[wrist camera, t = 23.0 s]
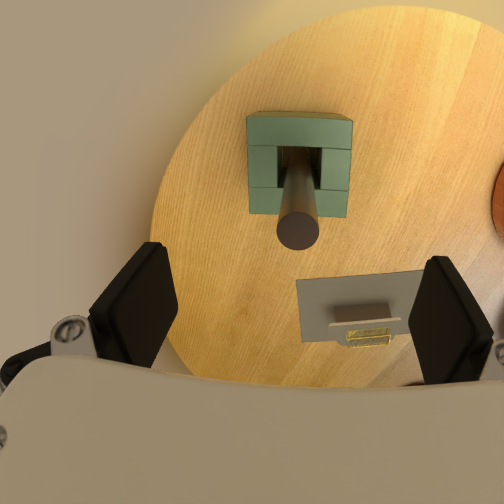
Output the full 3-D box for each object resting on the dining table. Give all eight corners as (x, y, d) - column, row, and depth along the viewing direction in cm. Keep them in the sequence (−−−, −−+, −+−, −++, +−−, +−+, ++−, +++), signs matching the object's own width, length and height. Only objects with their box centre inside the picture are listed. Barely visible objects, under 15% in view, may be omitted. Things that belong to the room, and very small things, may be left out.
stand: (258, 111, 31) (246, 116, 24) (340, 114, 30) (353, 120, 23) (259, 187, 36) (249, 213, 29) (337, 191, 34) (346, 218, 27)
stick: (289, 144, 32) (276, 210, 15) (309, 145, 32) (320, 213, 15) (289, 163, 34) (276, 249, 16) (308, 164, 33) (317, 252, 16)
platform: (412, 332, 43) (421, 363, 37) (301, 342, 47) (300, 374, 41) (423, 269, 37) (439, 299, 32) (296, 280, 41) (294, 311, 35)
